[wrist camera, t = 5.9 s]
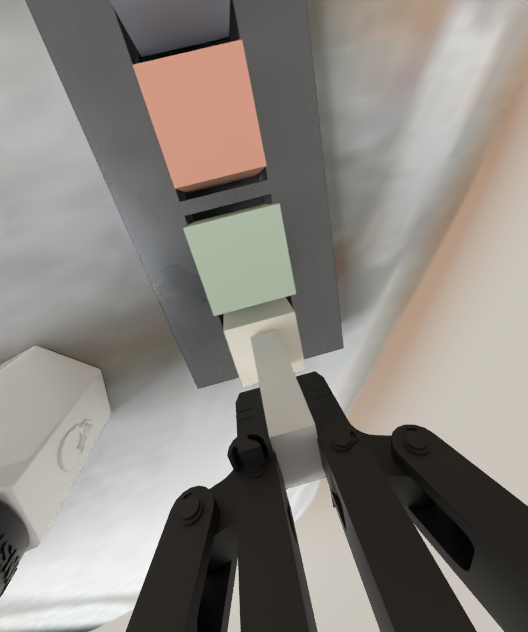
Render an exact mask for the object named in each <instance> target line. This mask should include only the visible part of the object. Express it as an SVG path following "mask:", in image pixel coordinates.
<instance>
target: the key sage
mask: <svg viewBox="0 0 528 632" xmlns="http://www.w3.org/2000/svg"><path fill="white" fill-rule="evenodd" d="M183 230H184V233H185V235H186V238H187V241H188V244H189V247H190V250H191V252H192V255H193V258H194V261H195V264H196V267H197V270H198V272H199V275H200V278H201V281H202V284H203V287H204V289H205V292H206V295H207V298H208V301H209V304H210V307H211V309H212V312H213V315H214V316H217V315H220V314H224V313H228V312H231V311H235V310H239V309H243V308H246V307H250V306H254V305H257V304H261V303H265V302H269V301H272V300H276V299H280V298H283V297H287V296H291V295H295V294H296V290H295V284H294V279H293V274H292V268H291V263H290V257H289V252H288V247H287V241H286V236H285V230H284V225H283V219H282V214H281V209H280V203H278V204H261V205H258V206H254V207H250V208H246V209H242V210H238V211H234V212H230V213H226V214H222V215H218V216H215V217H211V218H207V219H203V220H199V221H195V222H193V223H192V224H190V225H188V226H186V227H184V228H183Z"/></svg>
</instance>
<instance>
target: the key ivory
mask: <svg viewBox="0 0 528 632" xmlns="http://www.w3.org/2000/svg"><path fill="white" fill-rule="evenodd" d="M274 330H277V332H278V334H279V337H280V339H281V342H282V344H283V347H284V349H285V352H286V354H287V356H288V359H289V361H290V364H291V366H292V369H293V371H294V373H296V372H299V371H303V370H306V367H305V362H304V356H303V351H302V346H301V341H300V336H299V331H298V325H297V320H296V315H295V311H294V310H293V308H292V307H291V305H290V303H289V302H288V300H287V299H286V297H283V298H280V299H276V300H272V301H269V302H265V303H261V304H257V305H254V306H250V307H246V308H243V309H239V310H235V311H231V312H228V313H224V326H223V331H224V334H225V337H226V340H227V343H228V346H229V349H230V352H231V355H232V358H233V360H234V363H235V366H236V369H237V372H238V375H239V378H240V381H241V384H242V387H246V386H249V385H253V384H257V383H259V380H258V375H257V369H256V364H255V359H254V353H253V348H252V343H251V337H252V336H256V335H259V334H263V333H267V332H270V331H274Z"/></svg>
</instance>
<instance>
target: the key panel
mask: <svg viewBox="0 0 528 632" xmlns="http://www.w3.org/2000/svg"><path fill="white" fill-rule="evenodd" d="M25 1H26V3H27V5H28V7H29V10H30V12H31V14H32V16H33V19H34V21H35V23H36V25H37V28H38V30H39V32H40V34H41V37H42V39H43V41H44V44H45V46H46V48H47V50H48V53H49V55H50V57H51V59H52V62H53V64H54V66H55V68H56V71H57V73H58V75H59V77H60V80H61V82H62V84H63V86H64V89H65V91H66V93H67V95H68V98H69V100H70V102H71V104H72V107H73V109H74V111H75V113H76V116H77V118H78V120H79V122H80V125H81V127H82V129H83V131H84V134H85V136H86V138H87V140H88V143H89V145H90V147H91V149H92V152H93V154H94V156H95V158H96V161H97V163H98V165H99V167H100V170H101V172H102V174H103V176H104V179H105V181H106V183H107V185H108V188H109V190H110V192H111V194H112V197H113V199H114V201H115V203H116V206H117V208H118V210H119V212H120V215H121V217H122V219H123V221H124V224H125V226H126V228H127V230H128V233H129V235H130V237H131V239H132V242H133V244H134V246H135V248H136V251H137V253H138V255H139V257H140V260H141V262H142V264H143V266H144V269H145V271H146V273H147V275H148V278H149V280H150V282H151V284H152V287H153V289H154V291H155V293H156V296H157V298H158V300H159V302H160V305H161V307H162V309H163V311H164V314H165V316H166V318H167V320H168V323H169V325H170V327H171V329H172V332H173V334H174V336H175V338H176V341H177V343H178V345H179V347H180V350H181V352H182V354H183V356H184V359H185V361H186V363H187V365H188V368H189V370H190V372H191V374H192V377H193V379H194V381H195V383H196V386H197V388H198V389H199V388H202V387H206V386H210V385H213V384H217V383H220V382H224V381H228V380H231V379H235V378H238V377H239V375H238V372H237V369H236V366H235V363H234V360H233V358H232V355H231V352H230V349H229V346H228V343H227V340H226V337H225V334H224V331H223V326H224V314H220V315H217V316H214V315H213V312H212V309H211V307H210V304H209V301H208V298H207V295H206V292H205V289H204V287H203V284H202V281H201V278H200V275H199V272H198V270H197V267H196V264H195V261H194V258H193V255H192V252H191V250H190V247H189V244H188V241H187V238H186V235H185V233H184V230H183V228H184V227H186V226H188V225H190V224H192V223H193V222H194V221H193V218H192V215H191V214H194V213H198V212H202V211H206V210H210V209H214V208H218V207H222V206H226V205H230V204H233V203H237V202H241V201H245V200H249V199H253V198H257V197H261V196H263V197H264V202H265V204H278V203H280V209H281V214H282V219H283V225H284V230H285V236H286V241H287V247H288V252H289V257H290V263H291V268H292V274H293V279H294V284H295V290H296V294H295V295H291V296H287V297H286V299H287V300H288V302H289V303H290V305H291V307H292V308H293V310H294V311H295V315H296V320H297V325H298V331H299V336H300V341H301V346H302V351H303V356H304V359H307V358H310V357H314V356H317V355H321V354H324V353H328V352H332V351H335V350H339V349H342V348H344V347H343V338H342V329H341V320H340V310H339V301H338V292H337V283H336V273H335V264H334V255H333V246H332V236H331V227H330V218H329V209H328V199H327V190H326V181H325V172H324V162H323V153H322V144H321V135H320V125H319V116H318V107H317V98H316V88H315V79H314V70H313V60H312V51H311V42H310V33H309V23H308V14H307V5H306V0H230V20H229V34H230V39H231V42H233V41H237V40H241V39H242V41H243V46H244V52H245V57H246V62H247V67H248V72H249V77H250V83H251V88H252V93H253V98H254V103H255V108H256V114H257V119H258V124H259V129H260V134H261V139H262V145H263V150H264V155H265V160H266V165H267V166H266V167H265V168H264V169H263V170H261V171H260V172H259V178H260V182H257V183H253V184H249V185H245V186H241V187H237V188H233V189H229V190H225V191H221V192H217V193H213V194H209V195H205V196H201V197H197V198H194V199H190V200H186V197H185V194H184V191H181V190H177V189H175V188H174V185H173V182H172V179H171V176H170V173H169V170H168V167H167V164H166V161H165V158H164V155H163V153H162V150H161V147H160V144H159V141H158V138H157V135H156V132H155V129H154V126H153V123H152V120H151V117H150V115H149V112H148V109H147V106H146V103H145V100H144V97H143V94H142V91H141V88H140V85H139V82H138V79H137V77H136V74H135V71H134V68H133V65H134V64H138V63H141V60H140V57H139V54H138V51H137V48H136V46H135V45H134V43H133V41H132V39H131V38H130V36H129V34H128V32H127V31H126V29H125V27H124V25H123V24H122V22H121V20H120V18H119V16H118V15H117V13H116V11H115V9H114V8H113V6H112V4H111V2H110V1H109V0H25Z"/></svg>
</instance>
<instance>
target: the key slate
mask: <svg viewBox="0 0 528 632" xmlns="http://www.w3.org/2000/svg"><path fill="white" fill-rule="evenodd" d="M109 1H110V2H111V4H112V6H113V8H114V9H115V11H116V13H117V15H118V16H119V18H120V20H121V22H122V24H123V25H124V27H125V29H126V31H127V32H128V34H129V36H130V38H131V39H132V41H133V43H134V45H135V46H136V48H137V50H138V52H139V54H140V55H141V57H144V56H149V55H153V54H157V53H162V52H166V51H170V50H175V49H179V48H183V47H188V46H192V45H196V44H200V43H205V42H209V41H213V40H218V39H222V38H226V37H229V20H230V0H109Z"/></svg>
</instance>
